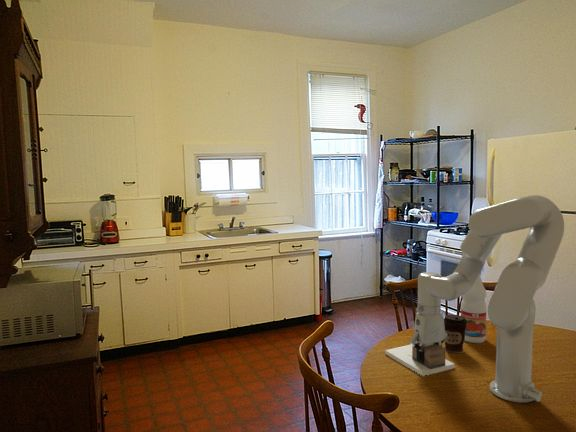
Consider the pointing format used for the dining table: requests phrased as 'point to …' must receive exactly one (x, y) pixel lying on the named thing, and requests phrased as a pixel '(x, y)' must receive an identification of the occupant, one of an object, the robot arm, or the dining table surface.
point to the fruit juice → (475, 312)
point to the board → (405, 358)
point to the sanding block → (431, 355)
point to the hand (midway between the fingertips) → (428, 358)
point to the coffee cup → (454, 333)
